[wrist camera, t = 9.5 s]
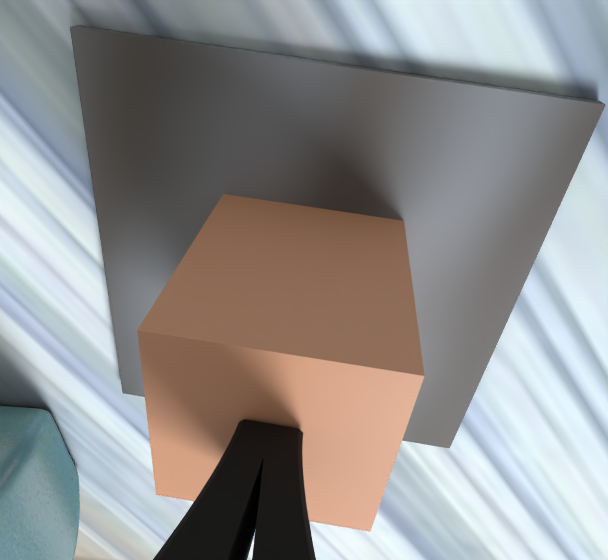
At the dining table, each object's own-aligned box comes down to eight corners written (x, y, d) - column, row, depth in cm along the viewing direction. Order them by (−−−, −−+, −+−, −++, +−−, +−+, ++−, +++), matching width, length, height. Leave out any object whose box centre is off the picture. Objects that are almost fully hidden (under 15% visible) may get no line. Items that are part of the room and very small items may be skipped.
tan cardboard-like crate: (404, 220, 15) (424, 376, 9) (370, 355, 18) (370, 531, 12) (223, 193, 15) (137, 330, 9) (221, 332, 18) (156, 494, 12)
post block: (599, 100, 13) (726, 178, 8) (448, 440, 20) (470, 575, 16) (77, 25, 13) (-76, 58, 8) (126, 386, 21) (59, 502, 16)
